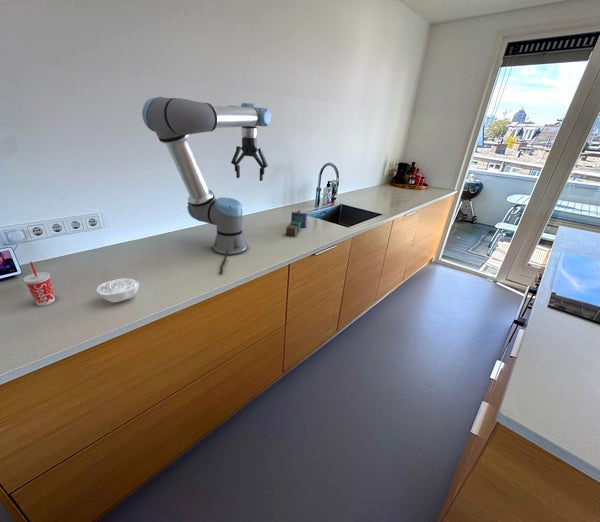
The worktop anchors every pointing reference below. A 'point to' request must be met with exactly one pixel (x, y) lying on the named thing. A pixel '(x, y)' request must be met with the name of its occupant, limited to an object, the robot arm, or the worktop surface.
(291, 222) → the block
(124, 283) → the cell model
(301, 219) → the flask
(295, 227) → the block
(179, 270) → the worktop surface
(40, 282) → the beverage cup
